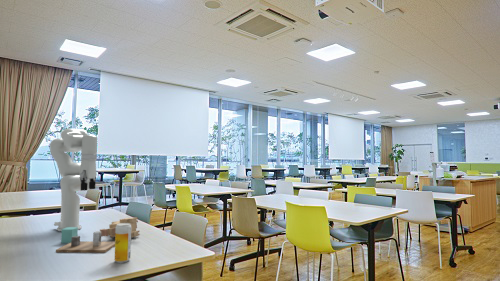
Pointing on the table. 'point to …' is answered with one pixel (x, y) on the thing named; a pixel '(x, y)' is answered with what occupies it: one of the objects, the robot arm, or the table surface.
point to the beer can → (122, 242)
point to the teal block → (68, 234)
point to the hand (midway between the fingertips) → (88, 189)
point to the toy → (113, 226)
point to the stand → (85, 246)
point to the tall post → (97, 238)
